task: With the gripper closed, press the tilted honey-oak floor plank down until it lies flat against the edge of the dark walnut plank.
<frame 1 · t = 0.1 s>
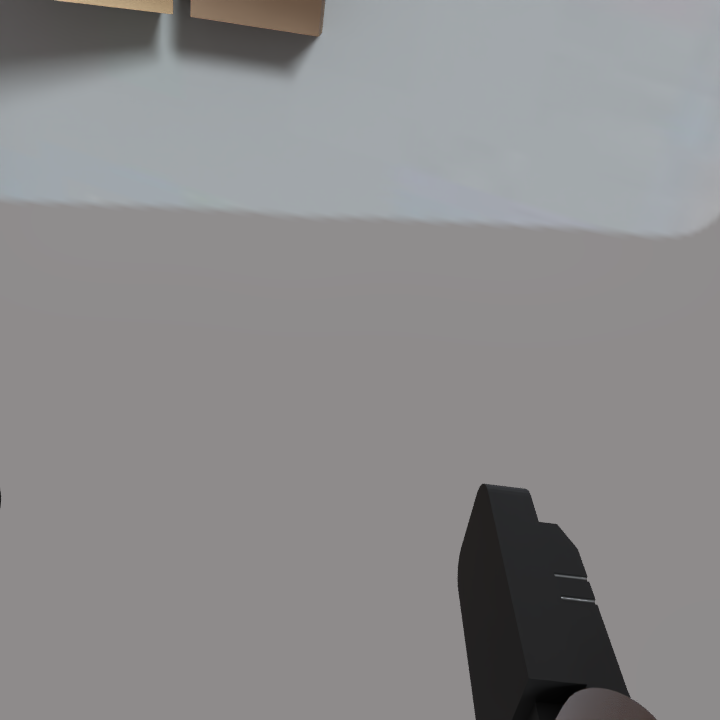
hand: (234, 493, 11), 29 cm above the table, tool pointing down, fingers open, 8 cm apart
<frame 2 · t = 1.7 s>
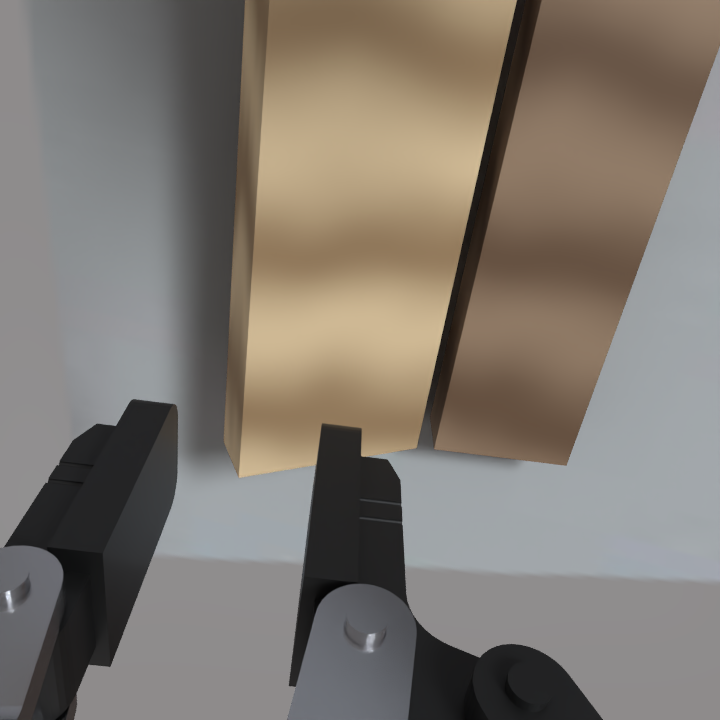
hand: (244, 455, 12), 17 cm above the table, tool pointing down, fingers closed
oak plank: (353, 221, 24), point 3 cm above the table, hinge at 25.0°
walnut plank: (549, 223, 28), on the table
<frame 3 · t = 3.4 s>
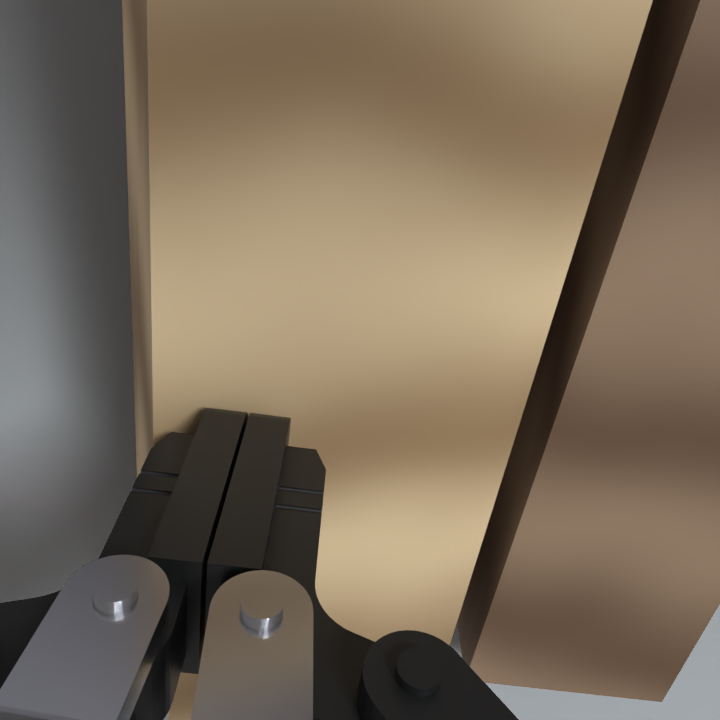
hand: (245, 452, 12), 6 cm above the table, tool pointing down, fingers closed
oak plank: (340, 387, 14), point 3 cm above the table, hinge at 24.9°, touching gripper
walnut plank: (653, 361, 17), on the table
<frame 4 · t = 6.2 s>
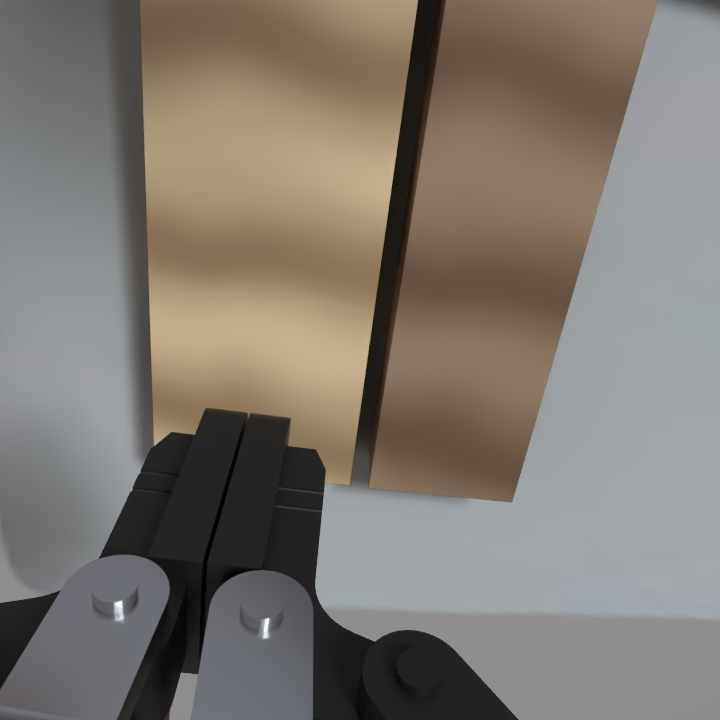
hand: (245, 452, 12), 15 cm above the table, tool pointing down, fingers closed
oak plank: (270, 230, 24), point 1 cm above the table, hinge at -0.6°
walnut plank: (481, 245, 26), on the table
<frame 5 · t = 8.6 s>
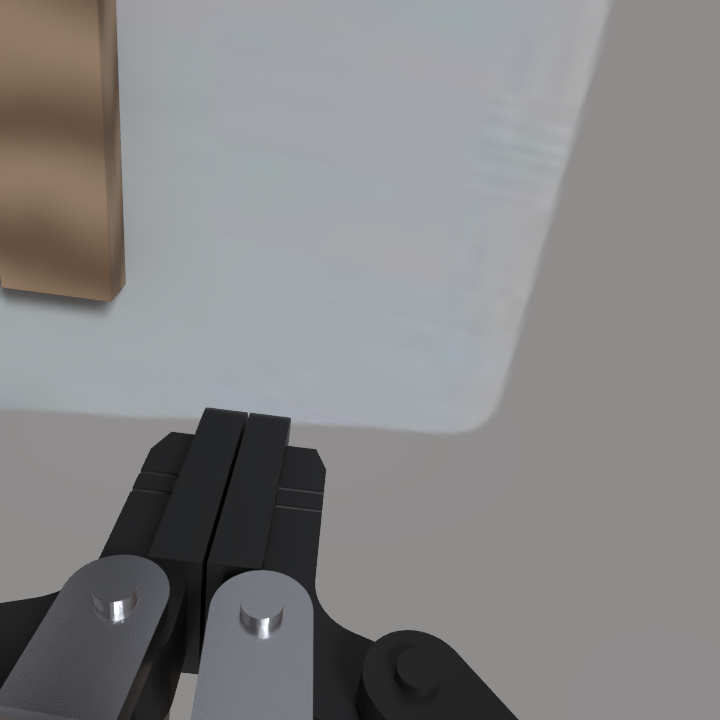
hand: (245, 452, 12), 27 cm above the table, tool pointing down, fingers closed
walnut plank: (60, 98, 35), on the table
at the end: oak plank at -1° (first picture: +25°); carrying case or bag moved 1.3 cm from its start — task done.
